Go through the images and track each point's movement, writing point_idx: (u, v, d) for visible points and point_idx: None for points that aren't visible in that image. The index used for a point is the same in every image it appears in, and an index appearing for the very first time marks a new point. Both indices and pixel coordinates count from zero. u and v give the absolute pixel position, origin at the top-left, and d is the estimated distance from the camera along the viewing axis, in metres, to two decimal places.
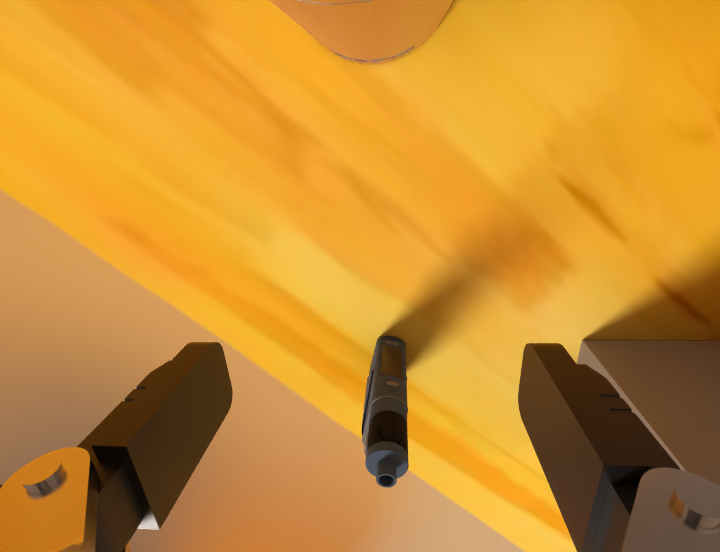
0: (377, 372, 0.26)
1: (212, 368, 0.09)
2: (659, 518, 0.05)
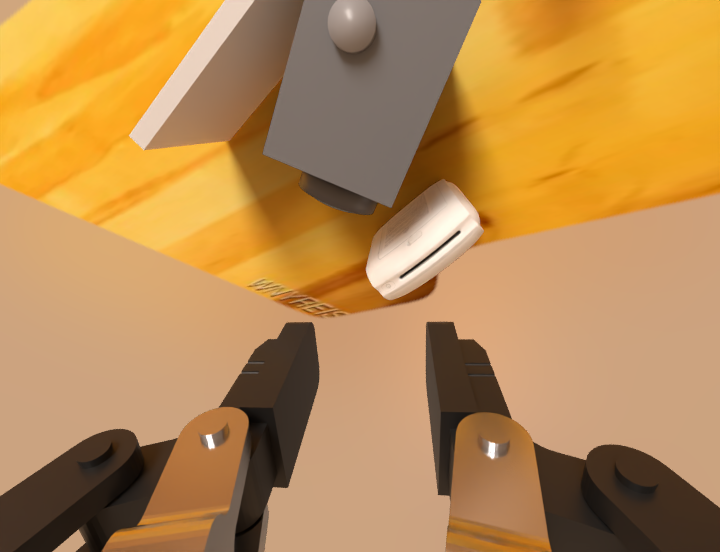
0: None
1: (309, 346, 0.10)
2: (472, 458, 0.06)
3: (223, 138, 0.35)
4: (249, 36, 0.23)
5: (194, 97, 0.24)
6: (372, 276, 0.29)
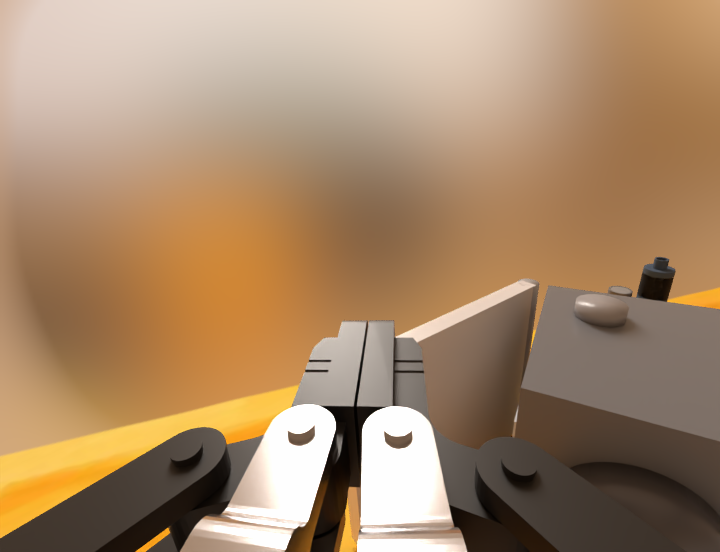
0: None
1: None
2: (378, 455, 0.06)
3: None
4: (475, 346, 0.24)
5: None
6: None
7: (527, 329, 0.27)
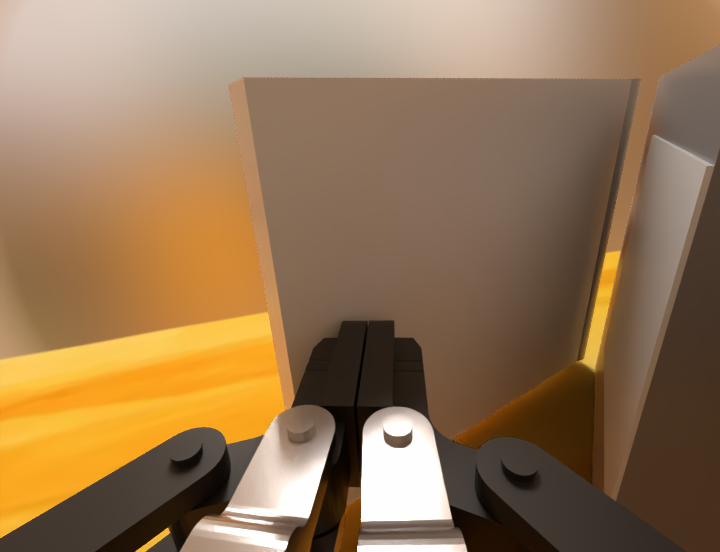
0: None
1: None
2: (379, 455, 0.06)
3: None
4: (532, 155, 0.13)
5: (421, 134, 0.10)
6: None
7: (614, 167, 0.16)
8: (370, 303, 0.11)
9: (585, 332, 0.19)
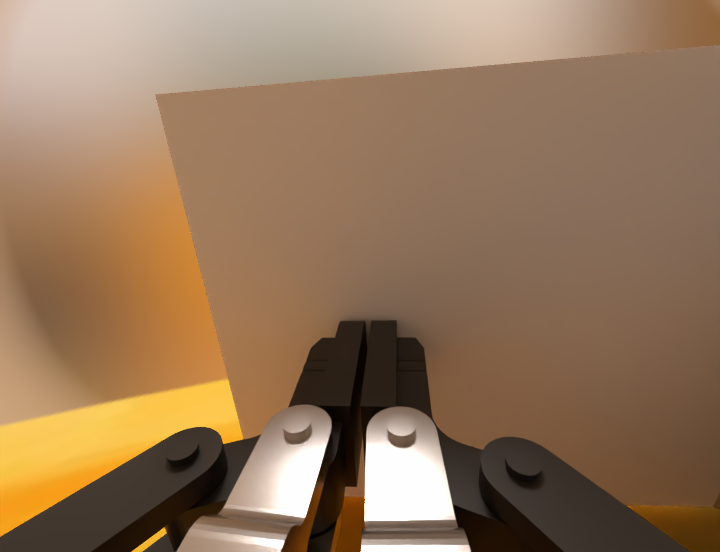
0: None
1: (364, 344, 0.10)
2: (382, 455, 0.06)
3: None
4: (578, 174, 0.09)
5: (357, 142, 0.09)
6: None
7: None
8: (301, 314, 0.11)
9: None
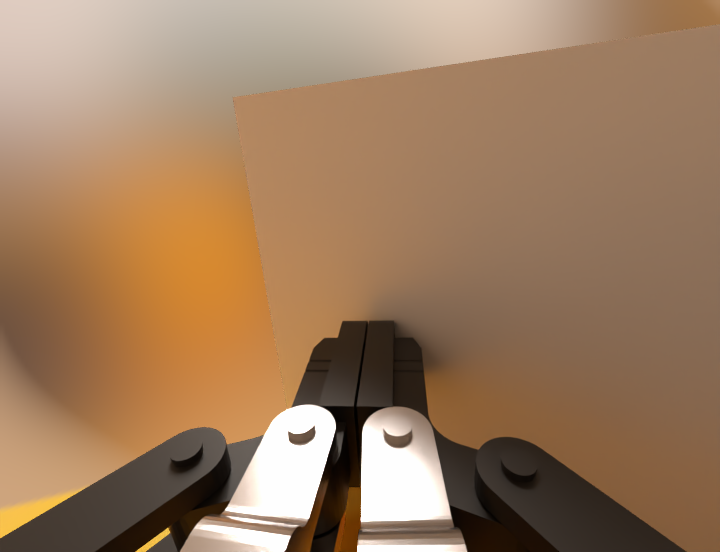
0: None
1: None
2: (378, 455, 0.06)
3: None
4: (596, 195, 0.07)
5: (360, 141, 0.09)
6: None
7: None
8: (320, 293, 0.12)
9: None
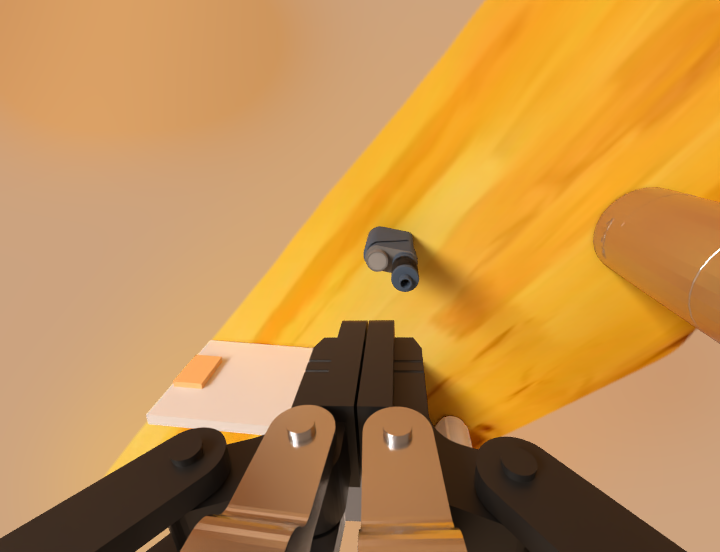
0: (412, 246, 0.37)
1: None
2: (379, 455, 0.06)
3: None
4: None
5: None
6: None
7: None
8: None
9: None
